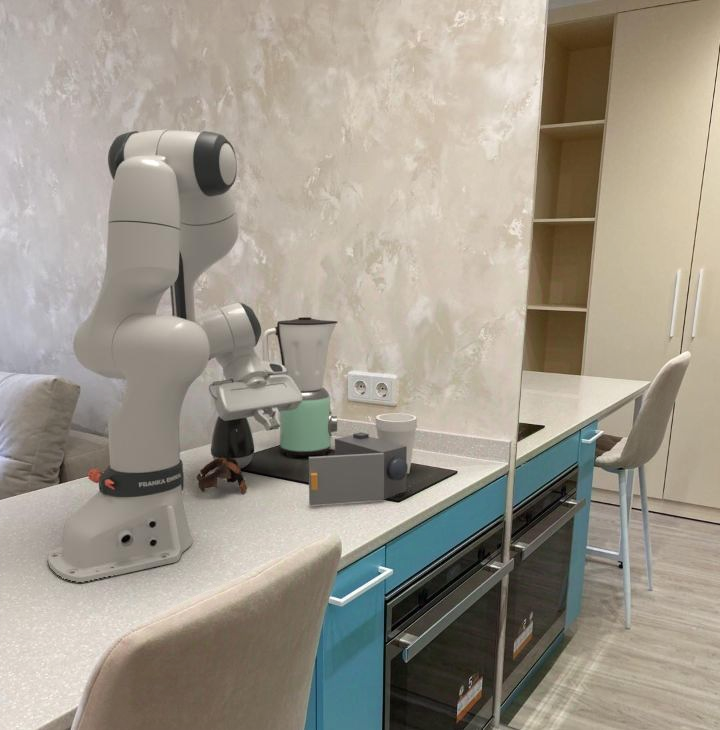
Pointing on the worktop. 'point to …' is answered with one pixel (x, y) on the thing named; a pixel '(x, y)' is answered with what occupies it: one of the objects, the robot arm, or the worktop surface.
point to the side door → (346, 478)
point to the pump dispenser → (233, 441)
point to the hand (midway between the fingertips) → (273, 428)
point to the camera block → (392, 458)
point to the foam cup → (398, 431)
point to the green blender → (305, 385)
